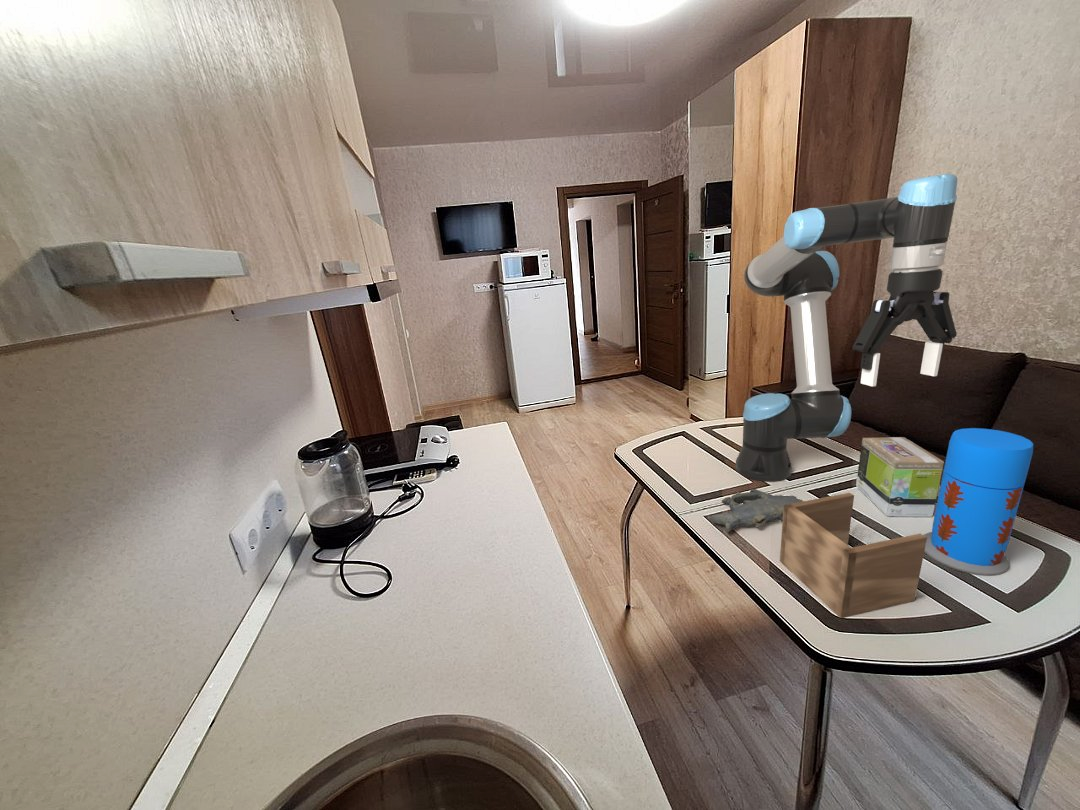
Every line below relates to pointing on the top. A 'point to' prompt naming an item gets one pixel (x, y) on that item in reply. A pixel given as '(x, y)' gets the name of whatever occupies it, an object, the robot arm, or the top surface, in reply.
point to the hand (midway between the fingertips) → (898, 379)
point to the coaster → (963, 566)
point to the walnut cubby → (847, 558)
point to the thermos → (980, 494)
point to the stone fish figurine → (753, 509)
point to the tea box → (899, 476)
